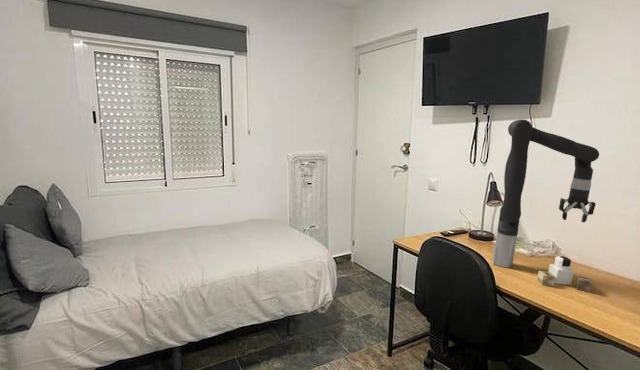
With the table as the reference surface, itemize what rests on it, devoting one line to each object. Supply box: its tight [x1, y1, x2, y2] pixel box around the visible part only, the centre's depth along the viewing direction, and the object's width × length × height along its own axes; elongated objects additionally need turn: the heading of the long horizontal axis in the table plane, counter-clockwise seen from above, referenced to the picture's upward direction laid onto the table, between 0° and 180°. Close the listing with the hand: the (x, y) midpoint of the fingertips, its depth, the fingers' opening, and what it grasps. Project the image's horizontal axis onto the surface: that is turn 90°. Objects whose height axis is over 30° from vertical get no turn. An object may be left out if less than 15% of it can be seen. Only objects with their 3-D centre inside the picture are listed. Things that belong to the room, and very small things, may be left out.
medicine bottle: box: [547, 255, 575, 286], centre depth 160 cm, size 7×7×12 cm
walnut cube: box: [575, 275, 593, 294], centre depth 153 cm, size 5×5×5 cm
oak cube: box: [536, 270, 555, 287], centre depth 158 cm, size 5×5×5 cm
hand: (573, 220), depth 166 cm, fingers open, 7 cm apart
